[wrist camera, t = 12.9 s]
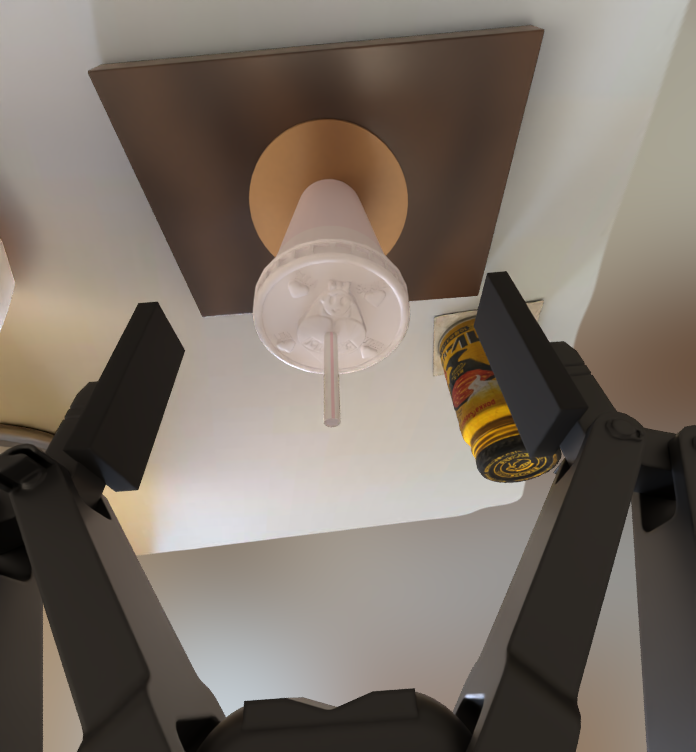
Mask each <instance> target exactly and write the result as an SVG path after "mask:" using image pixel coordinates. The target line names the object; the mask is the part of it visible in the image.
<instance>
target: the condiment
mask: <svg viewBox="0 0 696 752" xmlns="http://www.w3.org/2000/svg"><path fill="white" fill-rule="evenodd" d="M543 302H544V300H543V301H537V302H533V303H526V304H527V306H528V308H529V309H530V311H531V313H532V314H533V316H534V317H535V319H536V321H538V318H539V314H540V311H541V308H542V305H543ZM477 311H478V310H474V311H467V312H460V313H455V314H447V315H442V316H438V317H435V318H434V358H433V361H434V363H433V364H434V373H433V376H438V375H444V374H445V378H446V380H447V385H448V388H449V391H450V395H451V398H452V401H453V405H454V409H455V411H456V415H457V418H458V421H459V427H460V431H461V434H462V436H463V439H464V441H465V442H466V443H467V444H468V445H469V446H471V451H472V454H473V456H474V457H475V459H476V464H477V469H478V470H479V472H480V473H481V475H482V476H483V477H484V478H486V479H489V480H491V481H495V482H500V483H501V482H503V483H507V482H508V483H513V482H521V481H526V480H529V479H532V478H535V477H538V476H540V475H542V474H544V473H546V472H549V471H550V470H551V469H552V468H554V467H555V466H556V464H558V462H559V460H560V459H561V450H560V447H559V449H558V450H557V452H556V453H555V454H554V456H551V457H539V458H530V457H529V455H528V453H527V450H526V448H525V446H524V443H523V441H522V439H521V436H520V434H519V432H518V429H517V427H516V425H515V422H514V420H513V418H512V415H511V413H510V410H509V408H508V406H507V403H506V401H505V399H504V396H503V394H502V392H501V389H500V387H499V385H498V382H497V380H496V378H495V375H494V373H493V371H492V368H491V366H490V364H489V361H488V359H487V356H486V354H485V352H484V349H483V347H482V345H481V342H480V340H479V338H478V335H477V333H476V331H475V328H474V322H475V318H476V314H477Z"/></svg>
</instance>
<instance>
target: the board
mask: <svg viewBox="0 0 696 752" xmlns="http://www.w3.org/2000/svg"><path fill="white" fill-rule="evenodd" d="M543 35H544V29H542V28H539V27H536V26H533V25H526V26H516V27H505V28H494V29H483V30H472V31H461V32H450V33H439V34H428V35H417V36H407V37H396V38H385V39H374V40H363V41H352V42H341V43H330V44H319V45H309V46H298V47H287V48H276V49H265V50H254V51H243V52H232V53H221V54H210V55H200V56H189V57H178V58H167V59H156V60H145V61H134V62H123V63H112V64H101V65H99V66H97V67H95V68H93V69H91V70H89V71H88V74H89V76H90V78H91V80H92V83H93V85H94V87H95V89H96V91H97V93H98V95H99V98H100V100H101V102H102V104H103V106H104V108H105V110H106V112H107V115H108V117H109V119H110V121H111V123H112V125H113V127H114V129H115V132H116V134H117V136H118V138H119V140H120V142H121V144H122V146H123V149H124V151H125V153H126V155H127V157H128V159H129V161H130V164H131V166H132V168H133V170H134V172H135V174H136V176H137V178H138V181H139V183H140V185H141V187H142V189H143V191H144V193H145V195H146V198H147V200H148V202H149V204H150V206H151V208H152V210H153V213H154V215H155V217H156V219H157V221H158V223H159V225H160V227H161V230H162V232H163V234H164V236H165V238H166V240H167V242H168V244H169V247H170V249H171V251H172V253H173V255H174V257H175V259H176V262H177V264H178V266H179V268H180V270H181V272H182V274H183V276H184V279H185V281H186V283H187V285H188V287H189V289H190V291H191V293H192V296H193V298H194V300H195V302H196V304H197V306H198V308H199V311H200V313H201V315H202V317H211V316H224V315H236V314H249V313H253V306H254V295H255V287H256V284H257V282H258V280H259V278H260V276H261V274H262V272H263V270H264V268H265V267H266V266H267V265H268V264H269V263H270V262H271V261H272V260H273V259H274V258H275V257H276V256H277V254H278V251H279V249H280V246H281V244H282V241H283V239H284V237H285V234H286V232H287V229H288V227H289V224H290V222H291V219H292V217H293V214H294V212H295V209H296V207H297V205H298V202H299V200H300V197H301V195H302V194H303V192H304V191H305V190H306V189H307V188H308V187H309V186H310V185H311V184H313V183H315V182H317V181H320V180H325V179H334V180H338V181H341V182H344V183H345V184H347V185H348V186H350V187H351V188H352V189H353V190H354V191H355V192H356V194H357V196H358V197H359V200H360V202H361V204H362V206H363V208H364V211H365V213H366V215H367V217H368V220H369V222H370V224H371V226H372V228H373V231H374V233H375V235H376V237H377V240H378V242H379V244H380V246H381V248H382V251H383V253H384V255H385V256H386V257H387V258H388V259H389V260H390V261H391V262H392V263H393V264H394V265H395V266H396V267H397V268H398V269H399V271H400V273H401V275H402V277H403V279H404V281H405V283H406V285H407V291H408V299H409V301H417V300H430V299H443V298H456V297H469V296H478V294H479V290H480V286H481V282H482V278H483V274H484V270H485V266H486V262H487V258H488V254H489V250H490V246H491V242H492V238H493V234H494V230H495V226H496V222H497V218H498V214H499V210H500V206H501V202H502V198H503V194H504V190H505V186H506V182H507V178H508V174H509V170H510V166H511V162H512V158H513V154H514V150H515V146H516V142H517V138H518V134H519V130H520V126H521V122H522V118H523V114H524V110H525V106H526V102H527V98H528V94H529V90H530V86H531V82H532V78H533V75H534V71H535V67H536V63H537V59H538V55H539V51H540V47H541V43H542V39H543Z"/></svg>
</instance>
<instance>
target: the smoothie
mask: <svg viewBox="0 0 696 752" xmlns="http://www.w3.org/2000/svg"><path fill="white" fill-rule="evenodd" d="M409 321H410V306H409V299H408V291H407V285H406V283H405V281H404V279H403V277H402V275H401V273H400V271H399V269H398V268H397V267H396V266H395V265H394V264H393V263H392V262H391V261H390V260H389V259H388V258H387V257H386V256H385V255H384V253H383V251H382V248H381V246H380V244H379V242H378V240H377V237H376V235H375V233H374V231H373V228H372V226H371V224H370V222H369V220H368V217H367V215H366V213H365V211H364V208H363V206H362V204H361V202H360V200H359V197H358V196H357V194H356V192H355V191H354V190H353V189H352V188H351V187H350V186H348V185H347V184H345V183H344V182H341V181H338V180H334V179H325V180H320V181H317V182H315V183H313V184H311V185H310V186H309V187H308V188H307V189H306V190H305V191H304V192H303V194H302V195H301V197H300V200H299V202H298V205H297V207H296V209H295V212H294V214H293V217H292V219H291V222H290V224H289V227H288V229H287V232H286V234H285V237H284V239H283V241H282V244H281V246H280V249H279V251H278V254H277V256H276V257H275V258H274V259H273V260H272V261H271V262H270V263H269V264H268V265H267V266H266V267H265V268H264V270H263V272H262V274H261V276H260V278H259V280H258V282H257V284H256V287H255V295H254V306H253V322H254V326H255V329H256V332H257V334H258V336H259V338H260V340H261V341H262V343H263V344H264V345H265V347H266V348H267V349H268V350H269V351H270V352H271V353H272V354H273V355H274V356H276V357H277V358H278V359H280V360H281V361H283V362H285V363H286V364H288V365H291V366H293V367H295V368H298V369H300V370H304V371H308V372H311V373H318V374H324V424H325V425H326V426H328V427H336V426H338V425H339V424H340V397H339V374H344V373H351V372H355V371H359V370H362V369H365V368H367V367H370V366H372V365H374V364H376V363H378V362H380V361H381V360H383V359H384V358H386V357H387V356H388V355H389V354H391V353H392V352H393V351H394V350H395V349H396V347H397V346H398V345H399V344H400V342H401V341H402V339H403V338H404V336H405V334H406V331H407V329H408V325H409Z"/></svg>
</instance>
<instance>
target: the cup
mask: <svg viewBox="0 0 696 752" xmlns="http://www.w3.org/2000/svg"><path fill="white" fill-rule="evenodd" d="M14 287H15V280H14V277H13V274H12V271H11V267H10V264H9V261H8V258H7V255H6V252H5V249H4V246H3V243H2V240H1V239H0V331H1V328H2V325H3V323H4V320H5V318H6V315H7V312H8V309H9V305H10V302H11V298H12V295H13V291H14Z"/></svg>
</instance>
